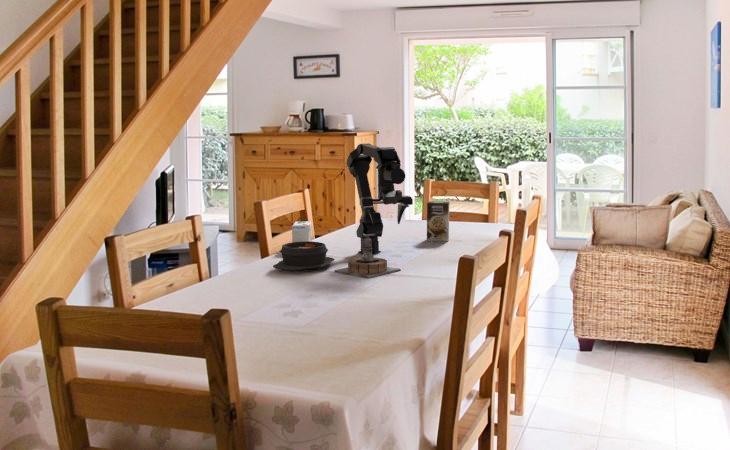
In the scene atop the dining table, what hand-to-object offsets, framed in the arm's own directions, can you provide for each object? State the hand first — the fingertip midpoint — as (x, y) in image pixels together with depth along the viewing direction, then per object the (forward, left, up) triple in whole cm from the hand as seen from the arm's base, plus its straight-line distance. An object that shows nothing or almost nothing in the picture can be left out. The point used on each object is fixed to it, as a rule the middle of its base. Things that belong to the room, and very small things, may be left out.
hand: (386, 224), depth 298 cm
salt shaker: (+9, -20, -13) cm, 25 cm away
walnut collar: (+9, -20, -13) cm, 25 cm away
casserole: (-12, -30, -13) cm, 35 cm away
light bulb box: (-39, -6, -13) cm, 42 cm away
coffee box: (-11, +45, -13) cm, 48 cm away
